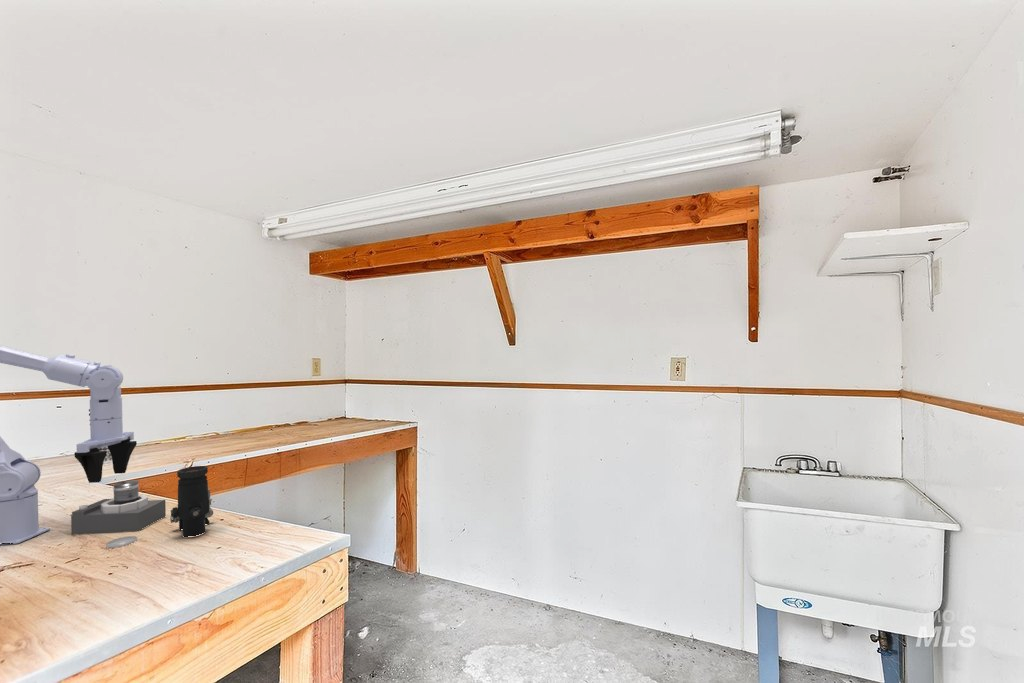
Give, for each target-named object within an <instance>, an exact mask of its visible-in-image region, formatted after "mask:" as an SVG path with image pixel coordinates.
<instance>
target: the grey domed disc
mask: <svg viewBox="0 0 1024 683" xmlns="http://www.w3.org/2000/svg"><path fill="white" fill-rule="evenodd" d="M135 541H136V542H138V537H137V536H136V535H130V536H123V537H118V538H115V539H112V540H110V541H107V542H106V543H105V547H106V548H107V547H108V548H107V549H116V548H115V547H119V548H122V546H124V547H126V545H127V546H130V545H132V544H131V543H133V544H134V542H135ZM136 542H135V543H136ZM129 544H130V545H129Z"/></svg>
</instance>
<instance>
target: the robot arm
mask: <svg viewBox="0 0 1024 683" xmlns="http://www.w3.org/2000/svg"><path fill="white" fill-rule="evenodd" d="M0 364H4V365H9V366H15V367H19V368H23V369H28V370H33V371H37V372H38V371H39V372H42V373H43V374H44V375H45V376H46V378H47V379H48V380H51V381H55V382H59V383H64V384H69V385H73V386H77V387H81V388H85V387H87V388H88V389H89V390H90V391H89V392H90V393H89V394H90V399H89V409H90V412H89V413H90V416H89V426H90V428H89V430H90V438H89V439H87V440H85V441H82V442H79V443H76V451H75V452H74V458H75V459H76V460H77V461H78V463H80V466H81V467H82V470H84V473H85V475H86V478H87V481H88V483H89V484H90V483H92V484H94V483H100V482H102V477H103V466H104V463H103V462H104V458H105V456H106V454H107V451H99V450H98V448H102V447H106V446H107V447H108V449H109V451H110V453H111V456H112V461H113V462H112V468H113V473H114V475H115V474H116V475H117V474H125V473H126V472H127V468H128V465H129V461H130V458H131V455H132V453H133V451H134V449H135V448H136V447H137V440H136V441H135V439H134V438H135V434H134V431H125V432H123V431H124V430H123V397H122V388H121V384H122V383H123V380H124V375H123V373H122V371H121V370H120V369H118V368H116V367H114V366H113V365H102V366H101V362H100V361H97V360H95V361H94V362H91V361H87V360H84V359H79V358H77V357H76V355H74V354H71V353H66V355H63V354H57V355H55V356H52V357H46V356H42V355H40V354H35V353H31V352H28V351H24V350H21V349H17V348H13V347H9V346H5V345H2V344H0ZM105 443H106V444H105ZM98 445H99V446H98ZM41 472H42V471H41V469H40V466H38V465H37V464H36V463H34V462H32V461H29V460H28V459H26V458H25V457H24V456H23V455H22V454H21V453H19V452H18V451H16V450H14V449H12V448H11V447H10V446H9V445H8V444H7V443H6V442H5V440H4V439H3V438H2V437H1V436H0V543H10V544H9V545H15V544H20V543H22V542H25V541H26V540H27V541H28V540H29V539H31V538H35V537H37V536H39V535H41V534H43V533H45V532H48V531H51V527H39V525H40V524H39V491H38V489H37V488H36V486H35V485H36V483H38V482H39V480H40V478H41ZM11 543H13V544H11Z"/></svg>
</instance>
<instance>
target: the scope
mask: <svg viewBox="0 0 1024 683" xmlns="http://www.w3.org/2000/svg"><path fill="white" fill-rule="evenodd" d="M208 468H209V467H208V466H206V465H195V466H188V467H184V468H183V467H182V468H181V469H178V470H177V473H176V474H177V478H179V479H178V480H177V506H173V507H172V509H170V520H169V521H170V524H173V523H174V524H176V523H178V529H180V530H181V529H183V530H182V537H183V536H184V537H188V536H196V535H199V534H202V533H204V532H205V533H206V525H205V524H208V525H210V520H209V518H211V517H213V515H214V509H212V507H211V506H212V501H213V499H212V498H211V489H210V488H209V482H208V475H207V474H208V470H209V469H208ZM180 530H179V531H180ZM205 533H204V534H205ZM184 537H183V538H184Z"/></svg>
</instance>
